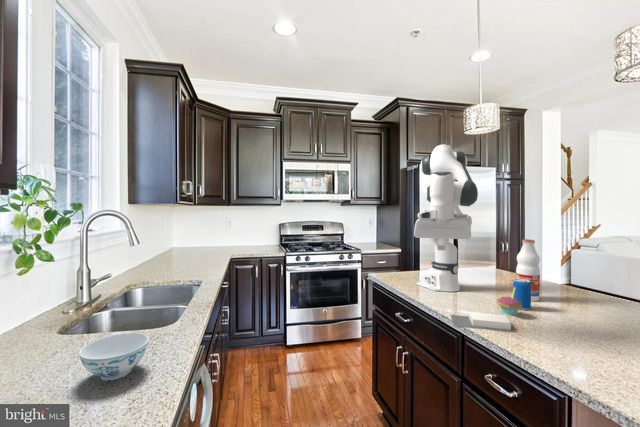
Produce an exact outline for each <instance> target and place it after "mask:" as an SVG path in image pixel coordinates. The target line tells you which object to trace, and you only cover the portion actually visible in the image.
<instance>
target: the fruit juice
mask: <svg viewBox="0 0 640 427" xmlns="http://www.w3.org/2000/svg"><path fill="white" fill-rule="evenodd" d="M521 242H522V246H521V248H520V251H519V252H518V253H517V255H516V262H517V265H516V269H515V279H525V280H529V281H530V283H531V302H538V301H540V290H541V289H540V287H541V270H540V267H539V266H540V262H541V259H540V258H541V257H540V255H539V254H538V253H537V251H536V248H535V244H536V240H535V239H527V238H526V239H525V238H524V239H522V241H521Z"/></svg>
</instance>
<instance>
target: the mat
mask: <svg viewBox="0 0 640 427" xmlns="http://www.w3.org/2000/svg"><path fill="white" fill-rule="evenodd" d="M450 318H451V321H452V323H453V327H458V328H468V329H475V330H476V329H477V330H487V331H494V332H495V331H497V332H505V333H514V334H518V331H517V330H516V329H515V328H514V326H513V325H512V324H511V330H507V329H497V328H488V327H478V326H473V325H472V323H471V321H470V319H469V315H468V316H467V315H456V314H450Z"/></svg>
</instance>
